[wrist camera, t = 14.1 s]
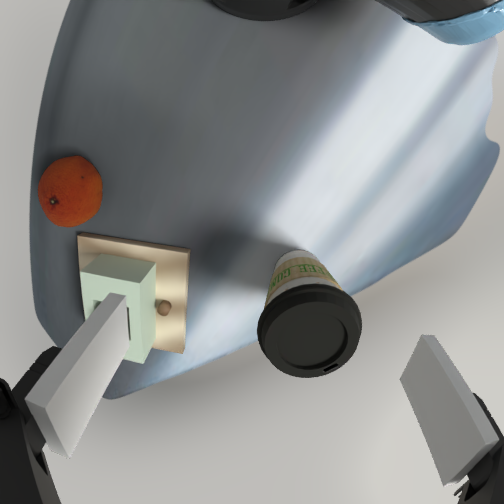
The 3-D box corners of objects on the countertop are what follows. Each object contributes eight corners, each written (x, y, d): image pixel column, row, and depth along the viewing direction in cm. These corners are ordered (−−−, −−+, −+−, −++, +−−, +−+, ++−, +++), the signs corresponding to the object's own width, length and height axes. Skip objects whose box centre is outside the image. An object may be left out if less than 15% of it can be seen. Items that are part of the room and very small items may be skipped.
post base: (82, 232, 40) (44, 257, 31) (190, 249, 40) (170, 281, 31) (91, 326, 46) (63, 362, 37) (184, 347, 46) (169, 391, 37)
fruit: (121, 205, 39) (92, 222, 31) (72, 225, 40) (40, 244, 32) (100, 142, 36) (66, 146, 28) (52, 167, 37) (16, 177, 29)
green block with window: (156, 337, 44) (143, 363, 38) (107, 326, 44) (90, 349, 38) (156, 262, 39) (139, 283, 34) (101, 253, 39) (79, 271, 34)
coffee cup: (311, 221, 38) (337, 272, 24) (348, 281, 41) (382, 351, 27) (244, 262, 41) (233, 330, 27) (285, 317, 43) (292, 396, 29)
